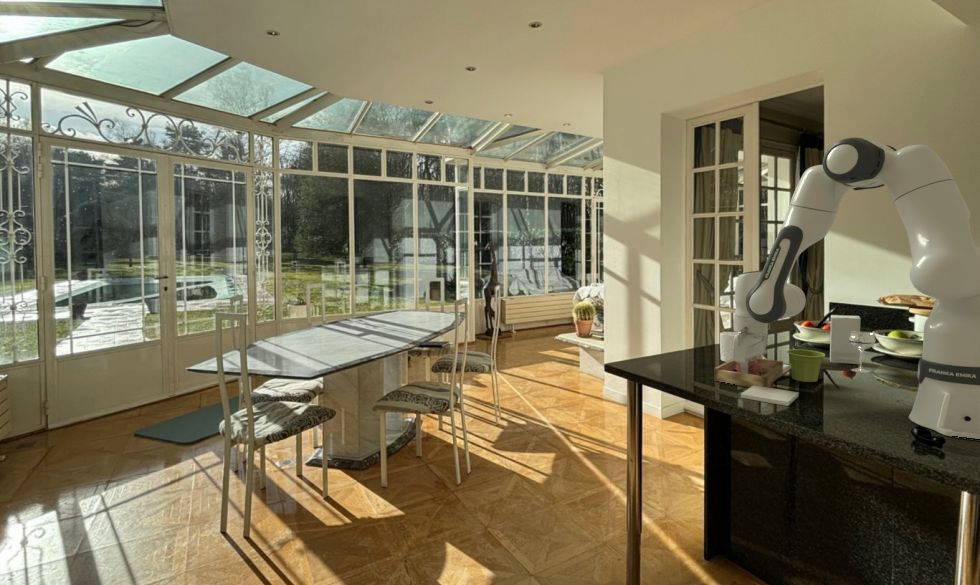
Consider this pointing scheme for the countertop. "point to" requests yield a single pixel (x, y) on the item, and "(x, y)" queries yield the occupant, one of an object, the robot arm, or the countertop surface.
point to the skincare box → (843, 339)
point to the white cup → (726, 345)
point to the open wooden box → (771, 371)
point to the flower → (751, 367)
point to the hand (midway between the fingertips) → (748, 371)
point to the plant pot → (805, 364)
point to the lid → (786, 367)
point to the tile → (770, 395)
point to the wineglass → (861, 344)
